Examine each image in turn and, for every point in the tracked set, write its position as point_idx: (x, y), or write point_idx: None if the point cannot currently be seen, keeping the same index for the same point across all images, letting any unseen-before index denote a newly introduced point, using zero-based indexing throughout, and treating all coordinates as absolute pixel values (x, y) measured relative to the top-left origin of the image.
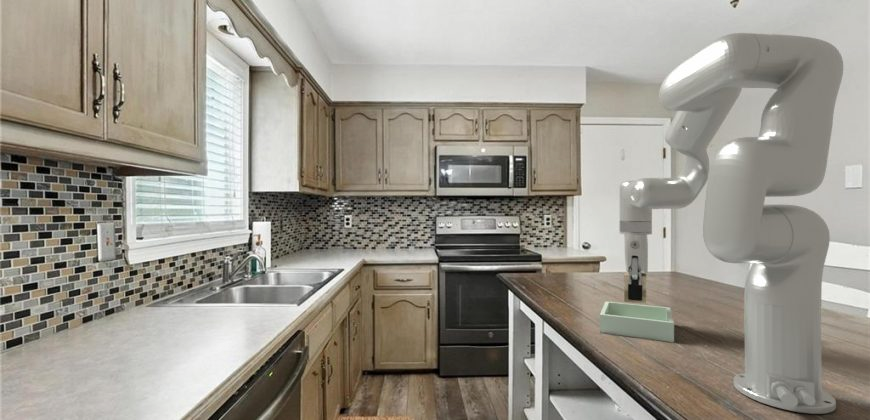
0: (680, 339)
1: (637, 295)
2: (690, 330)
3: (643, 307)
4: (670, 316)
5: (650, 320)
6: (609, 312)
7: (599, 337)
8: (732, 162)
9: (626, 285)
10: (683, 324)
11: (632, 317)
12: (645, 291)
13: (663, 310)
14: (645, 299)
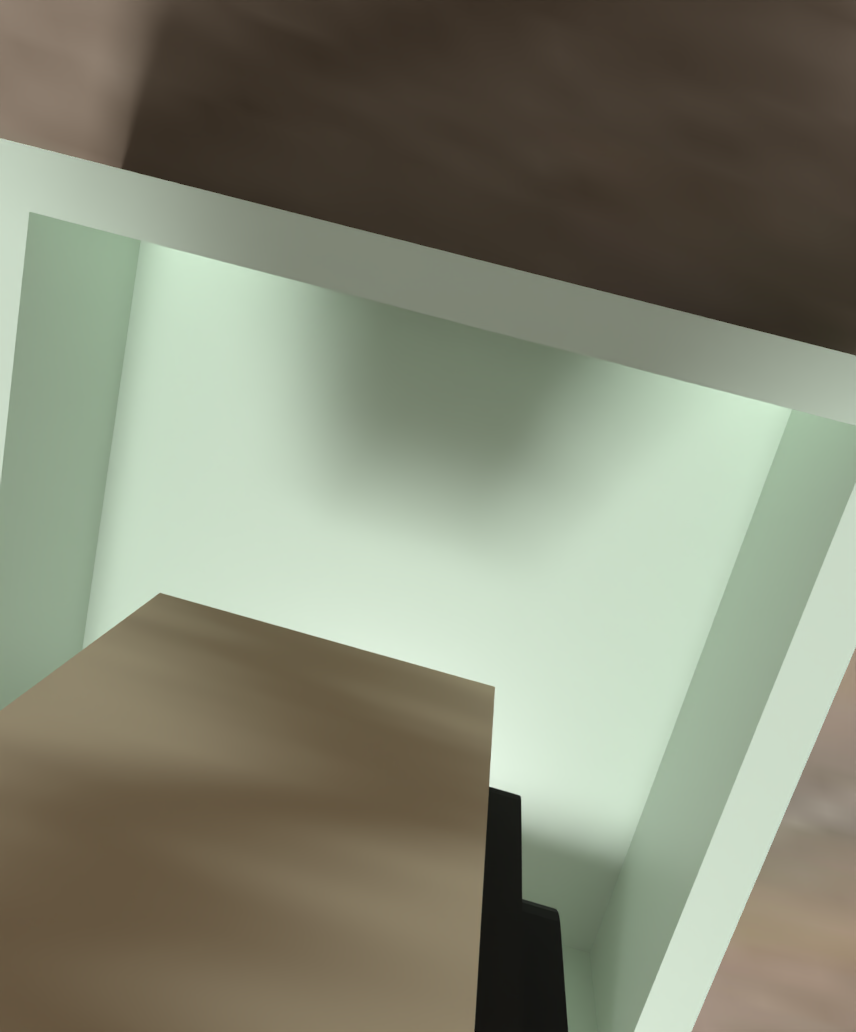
0: (721, 257)
1: (550, 939)
2: (316, 3)
3: (12, 509)
4: (570, 311)
5: (844, 664)
6: None
7: (773, 1013)
8: None
9: None
10: (62, 5)
11: (722, 844)
12: (479, 833)
13: (52, 253)
14: (488, 736)
